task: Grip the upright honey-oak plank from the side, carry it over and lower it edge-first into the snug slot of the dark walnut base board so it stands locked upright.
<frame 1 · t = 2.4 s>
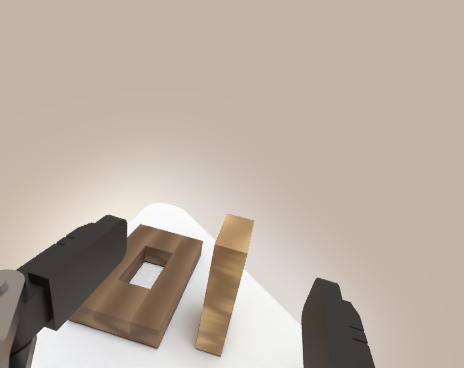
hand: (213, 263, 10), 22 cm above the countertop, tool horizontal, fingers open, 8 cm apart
base board: (146, 281, 36), on the countertop
plank: (214, 329, 31), on the countertop
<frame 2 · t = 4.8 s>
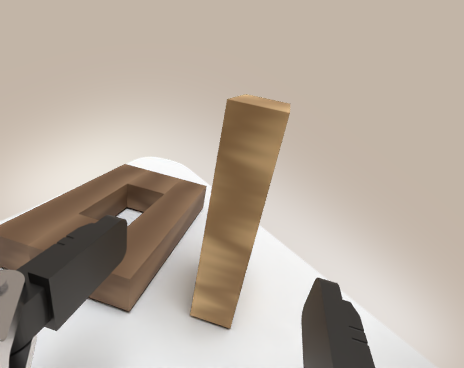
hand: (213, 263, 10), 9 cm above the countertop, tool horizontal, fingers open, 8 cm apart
base board: (126, 228, 25), on the countertop
plank: (219, 292, 20), on the countertop
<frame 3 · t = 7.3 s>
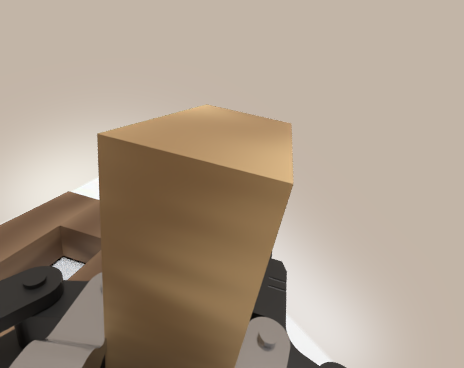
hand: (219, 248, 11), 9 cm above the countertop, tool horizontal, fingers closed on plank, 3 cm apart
base board: (49, 296, 17), on the countertop
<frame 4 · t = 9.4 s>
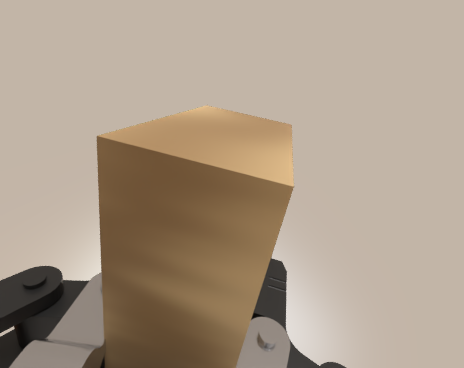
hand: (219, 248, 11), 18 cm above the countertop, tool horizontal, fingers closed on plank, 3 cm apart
when the fingers open (10 cm above the countertop, at t = 11.6 s): plank drops 1 cm, resting in base board.
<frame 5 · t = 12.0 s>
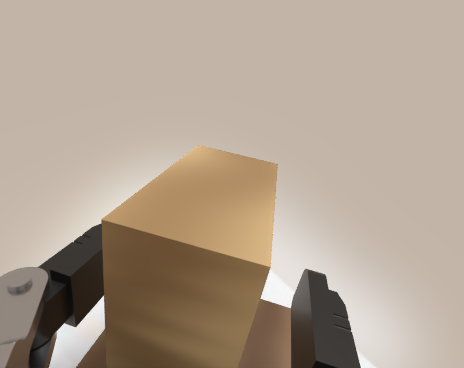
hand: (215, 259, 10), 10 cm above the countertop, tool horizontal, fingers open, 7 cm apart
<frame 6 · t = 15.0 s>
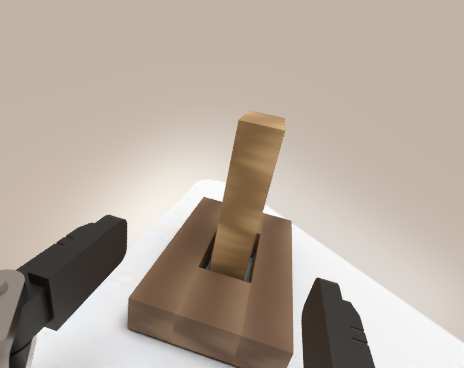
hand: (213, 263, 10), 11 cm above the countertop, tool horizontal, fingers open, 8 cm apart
base board: (227, 272, 24), on the countertop
plank: (227, 272, 24), resting in base board
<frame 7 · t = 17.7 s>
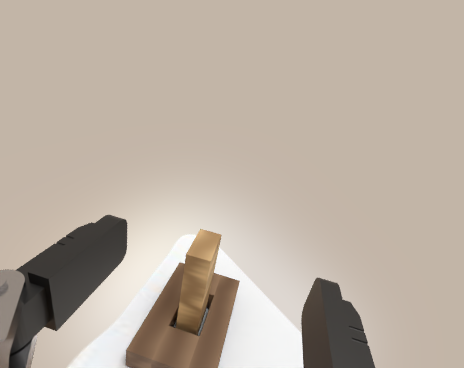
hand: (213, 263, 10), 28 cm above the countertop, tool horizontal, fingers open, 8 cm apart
base board: (190, 323, 38), on the countertop
plank: (191, 323, 38), resting in base board
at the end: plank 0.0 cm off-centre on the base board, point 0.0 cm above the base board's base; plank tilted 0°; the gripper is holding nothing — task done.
